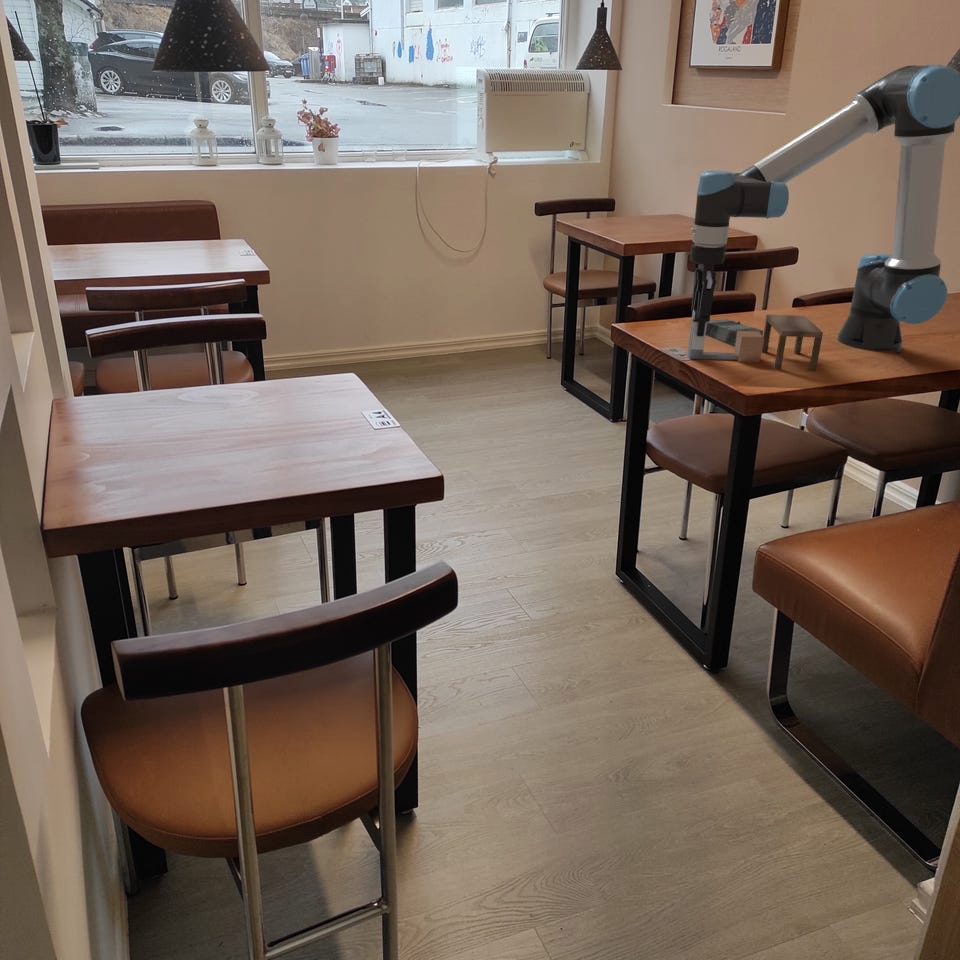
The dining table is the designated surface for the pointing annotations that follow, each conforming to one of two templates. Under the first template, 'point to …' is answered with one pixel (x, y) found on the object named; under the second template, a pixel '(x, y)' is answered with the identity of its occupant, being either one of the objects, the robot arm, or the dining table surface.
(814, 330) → the small grey table
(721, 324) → the stone block
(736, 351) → the grey l-shaped piece
